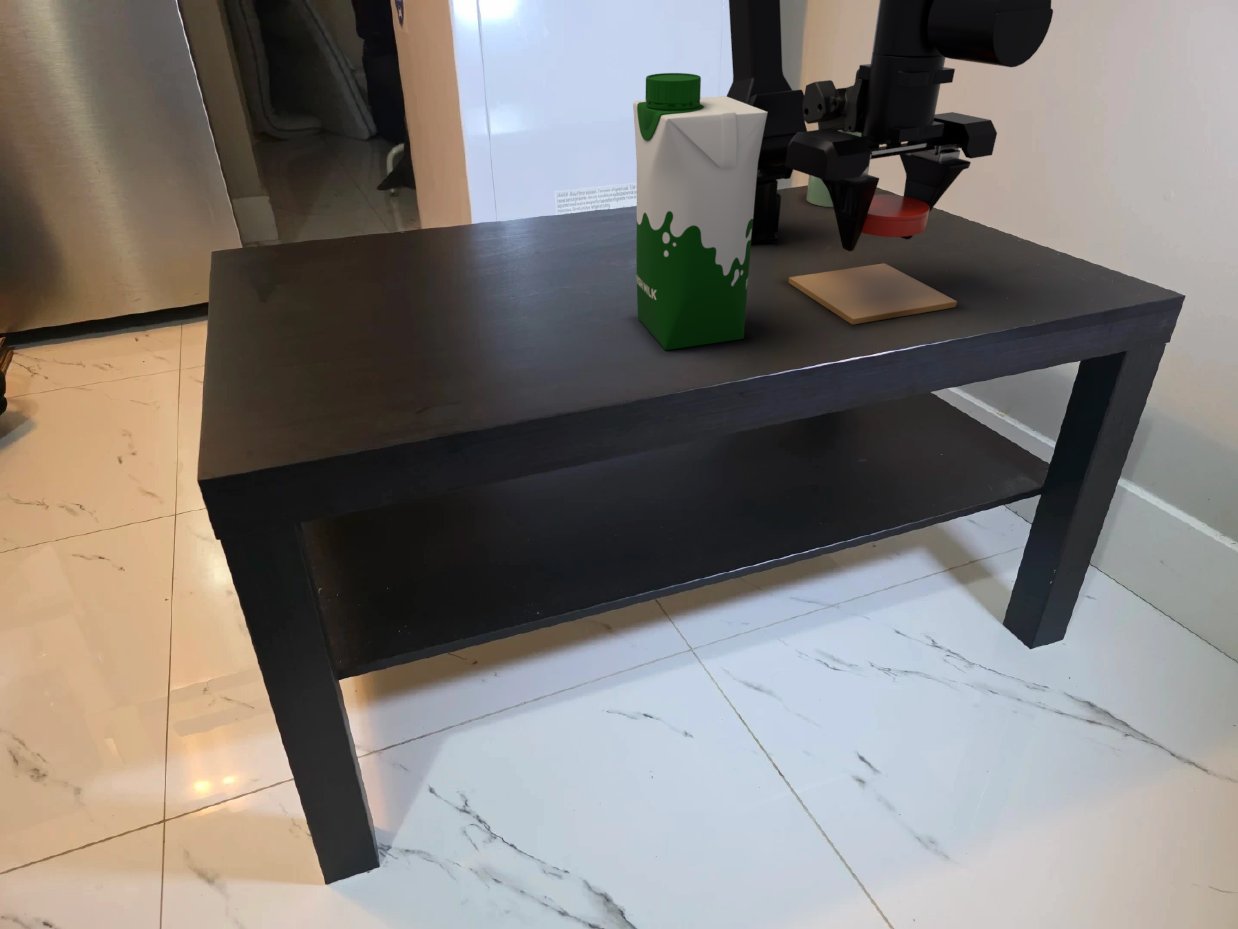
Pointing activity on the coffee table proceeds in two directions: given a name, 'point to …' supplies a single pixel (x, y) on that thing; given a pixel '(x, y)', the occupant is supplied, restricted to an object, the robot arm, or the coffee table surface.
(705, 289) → the milk carton
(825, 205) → the jar
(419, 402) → the coffee table surface
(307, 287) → the coffee table surface
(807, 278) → the coaster
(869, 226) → the lid
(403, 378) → the coffee table surface
